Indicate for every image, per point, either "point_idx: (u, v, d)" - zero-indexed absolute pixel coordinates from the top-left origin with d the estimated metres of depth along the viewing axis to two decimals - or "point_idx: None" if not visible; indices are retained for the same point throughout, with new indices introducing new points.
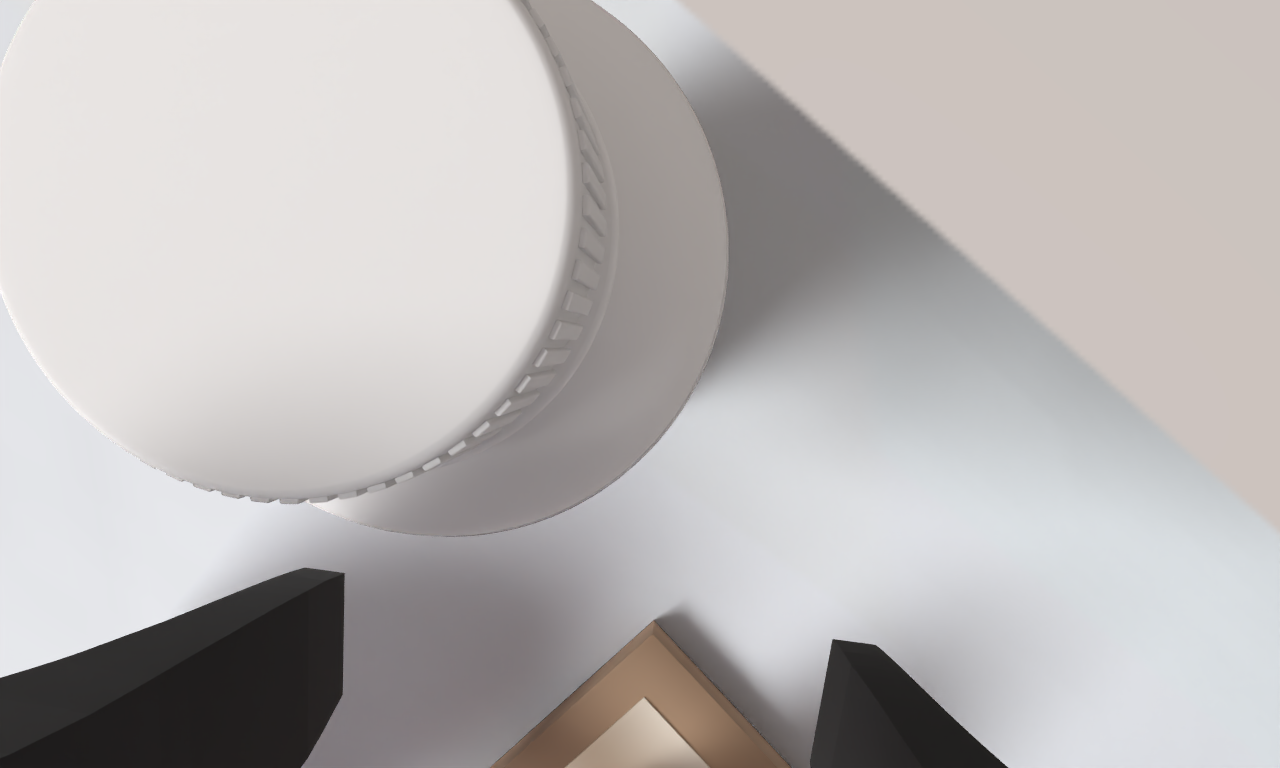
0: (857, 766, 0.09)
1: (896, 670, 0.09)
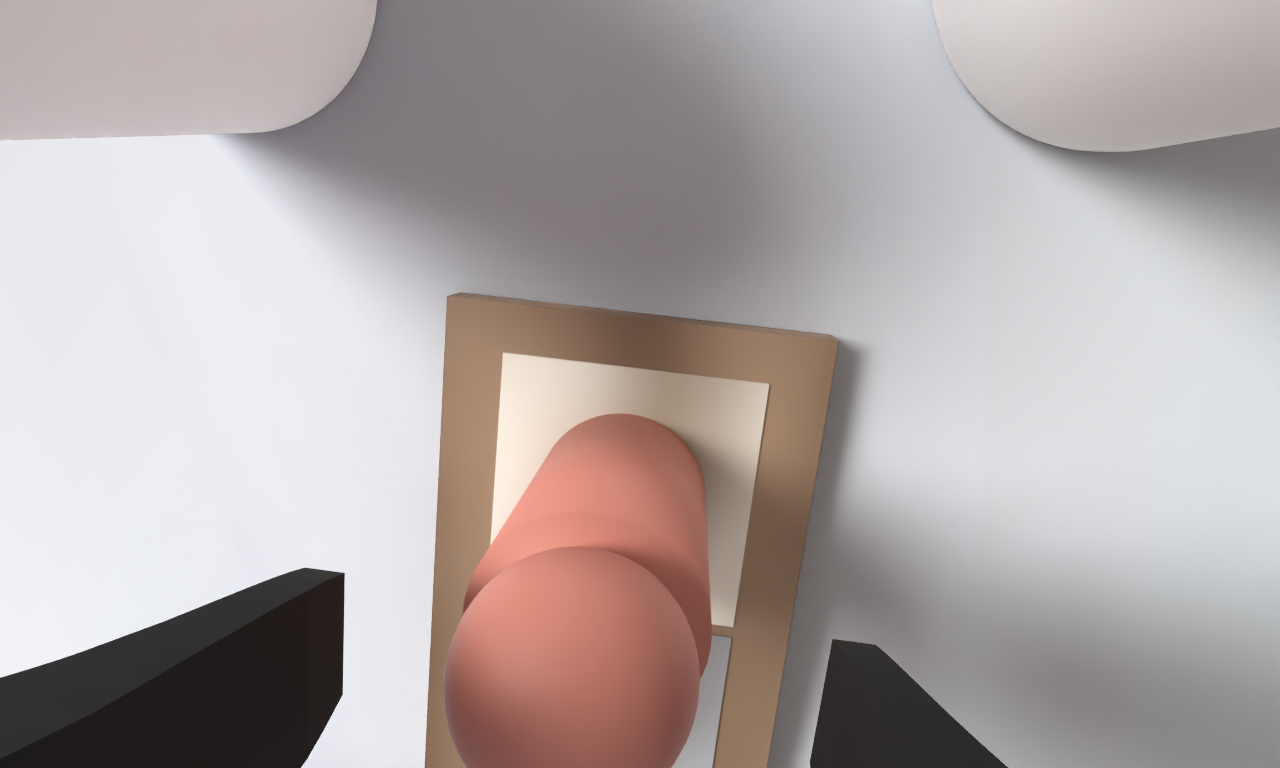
0: (857, 766, 0.09)
1: (897, 670, 0.09)
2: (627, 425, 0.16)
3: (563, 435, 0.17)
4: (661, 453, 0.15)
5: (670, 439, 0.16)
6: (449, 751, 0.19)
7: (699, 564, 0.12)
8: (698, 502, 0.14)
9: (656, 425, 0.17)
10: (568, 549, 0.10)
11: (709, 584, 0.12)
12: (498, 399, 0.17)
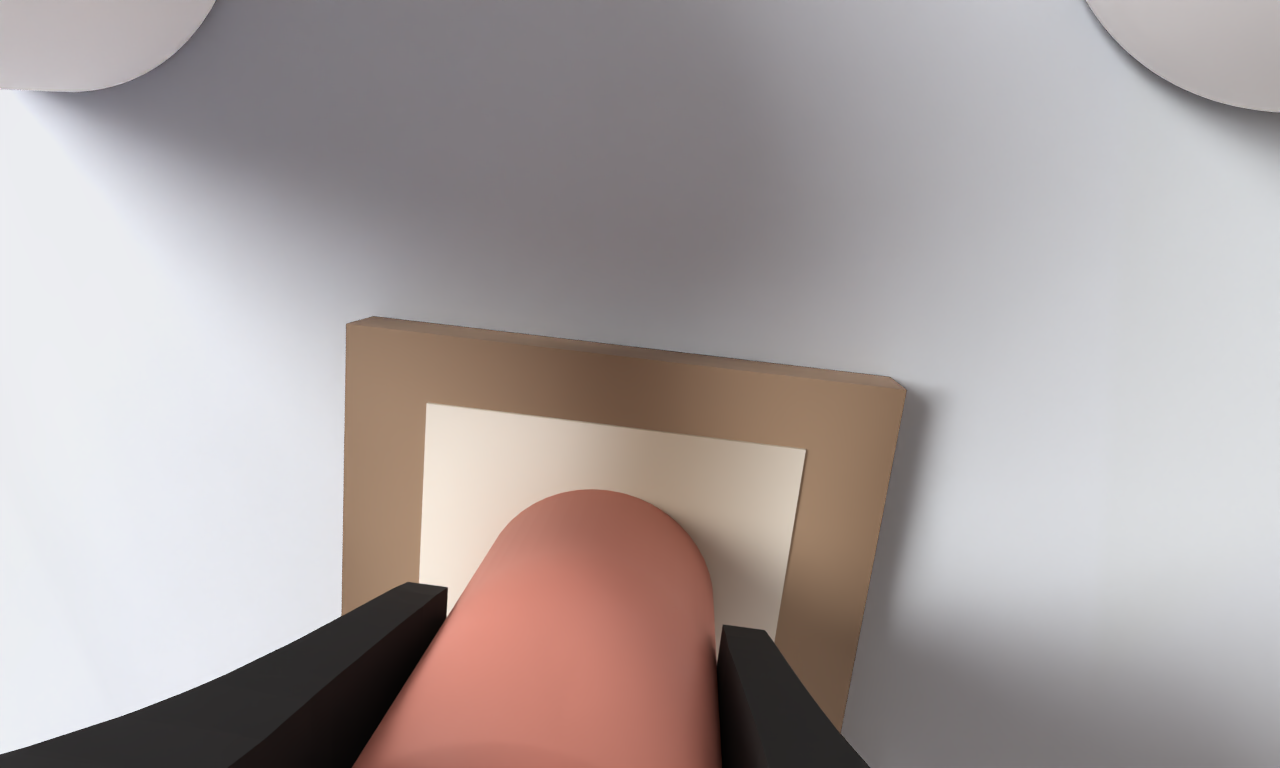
0: (727, 747, 0.09)
1: (774, 652, 0.09)
2: (601, 513, 0.11)
3: (513, 519, 0.12)
4: (649, 564, 0.10)
5: (663, 531, 0.11)
6: None
7: None
8: (705, 644, 0.10)
9: (644, 508, 0.12)
10: None
11: None
12: (422, 468, 0.12)
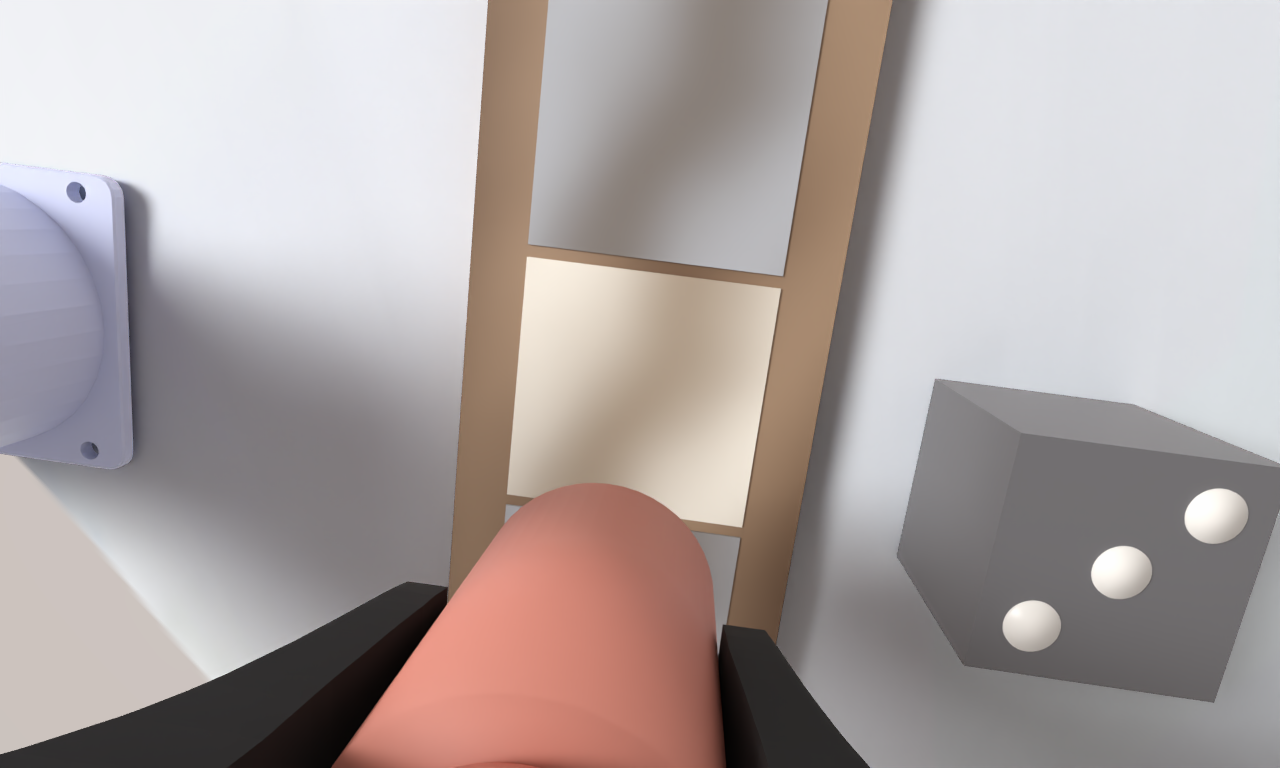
0: (727, 747, 0.09)
1: (773, 653, 0.09)
2: (602, 503, 0.11)
3: (514, 513, 0.12)
4: (650, 548, 0.10)
5: (664, 522, 0.11)
6: (503, 167, 0.17)
7: None
8: (706, 626, 0.10)
9: (644, 500, 0.12)
10: None
11: None
12: None
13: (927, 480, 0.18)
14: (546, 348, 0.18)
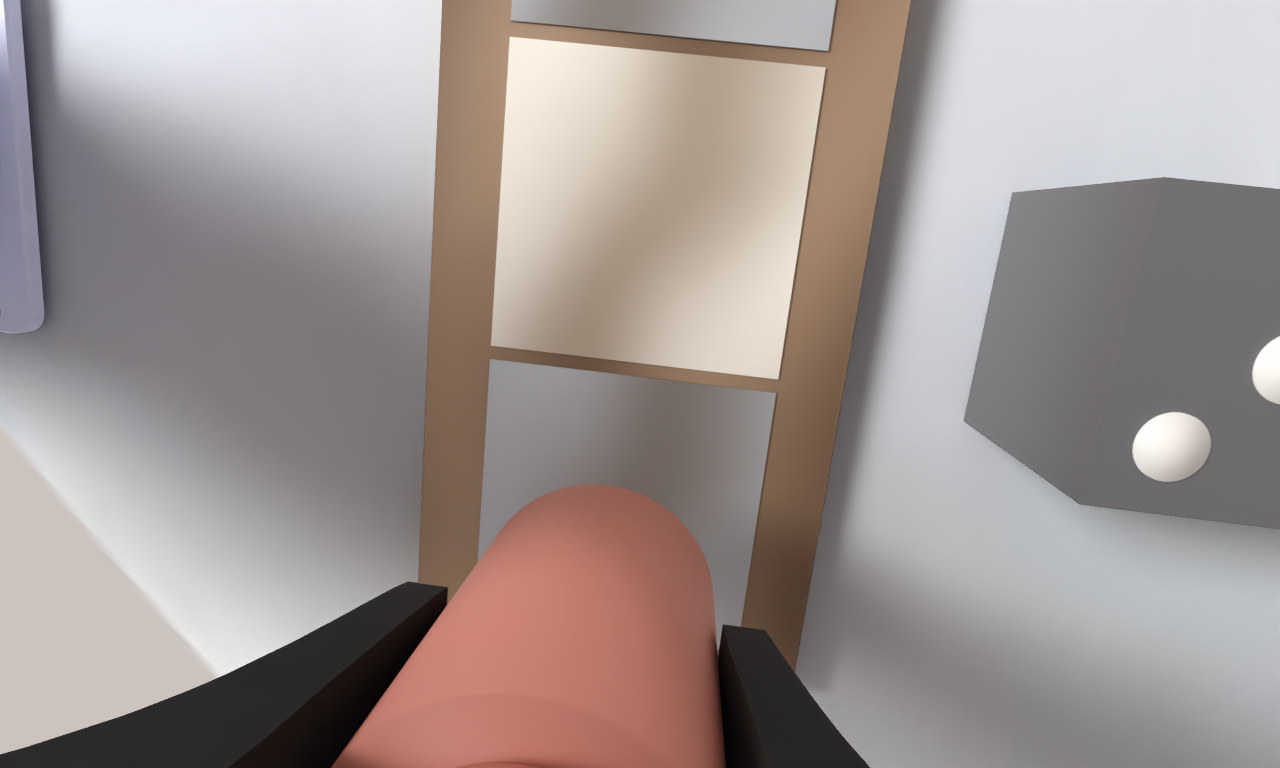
0: (727, 747, 0.09)
1: (774, 653, 0.09)
2: (602, 504, 0.11)
3: (514, 515, 0.12)
4: (650, 550, 0.10)
5: (664, 523, 0.11)
6: None
7: None
8: (706, 628, 0.10)
9: (644, 502, 0.12)
10: None
11: None
12: None
13: (1007, 312, 0.15)
14: (535, 156, 0.15)
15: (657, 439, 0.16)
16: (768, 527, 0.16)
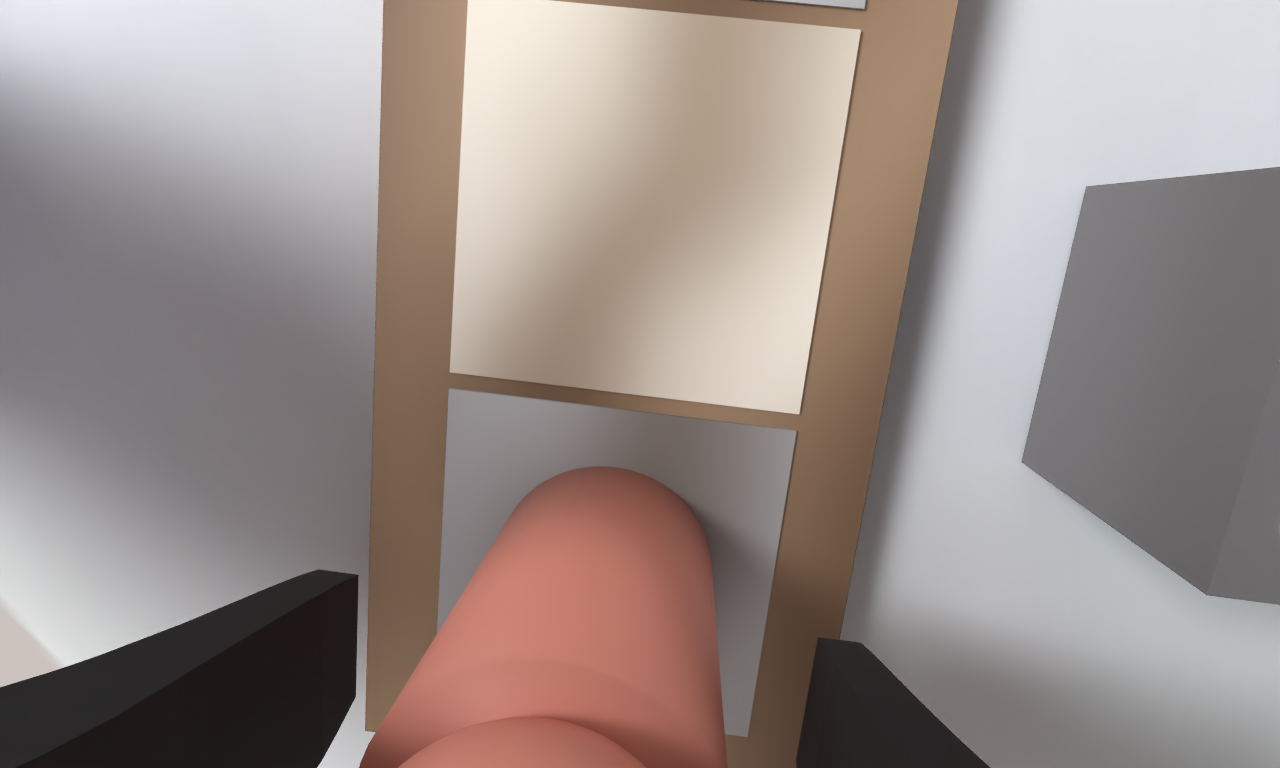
0: (839, 763, 0.09)
1: (880, 667, 0.09)
2: (609, 486, 0.12)
3: (527, 495, 0.13)
4: (654, 527, 0.11)
5: (666, 502, 0.12)
6: None
7: (711, 723, 0.08)
8: (705, 598, 0.11)
9: (648, 482, 0.13)
10: (503, 736, 0.06)
11: None
12: None
13: (1083, 333, 0.12)
14: (500, 141, 0.12)
15: None
16: (786, 590, 0.13)
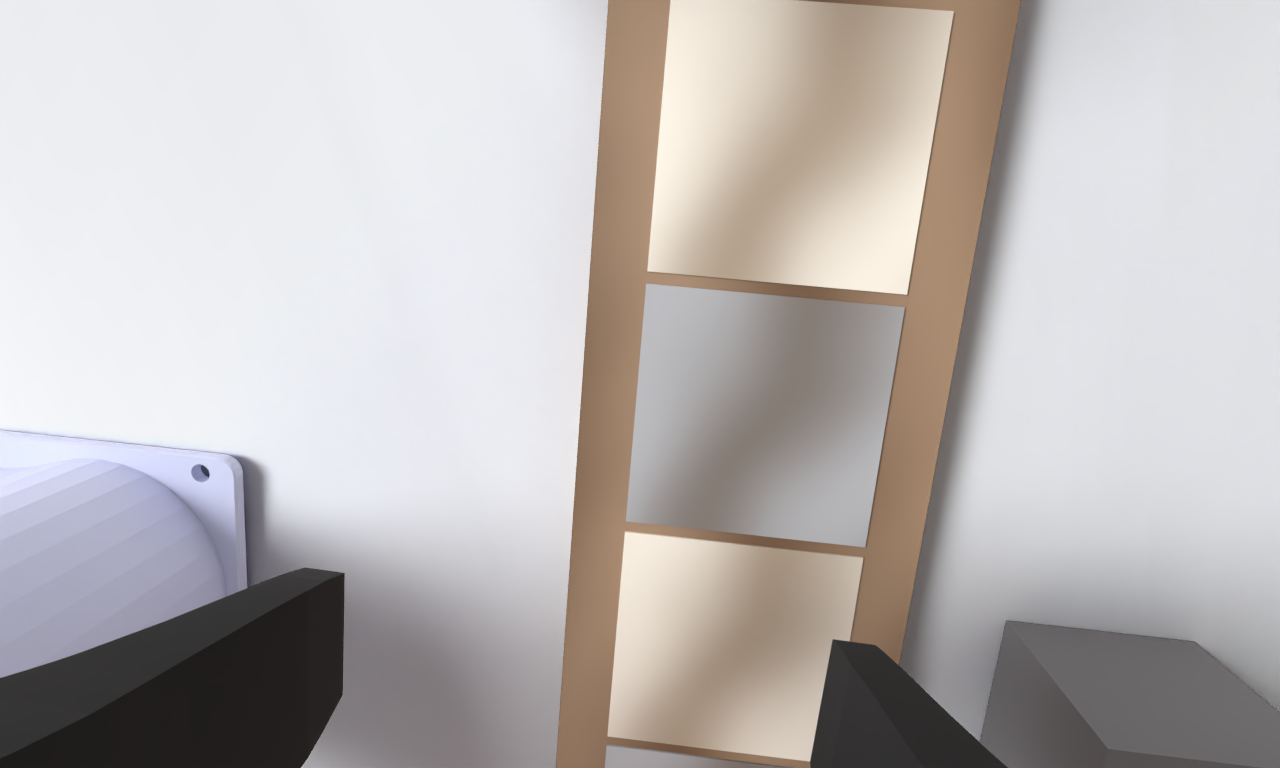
0: (857, 766, 0.09)
1: (897, 669, 0.09)
2: None
3: None
4: None
5: None
6: (602, 455, 0.19)
7: None
8: None
9: None
10: None
11: None
12: (664, 46, 0.16)
13: (1004, 721, 0.19)
14: (643, 611, 0.19)
15: None
16: None
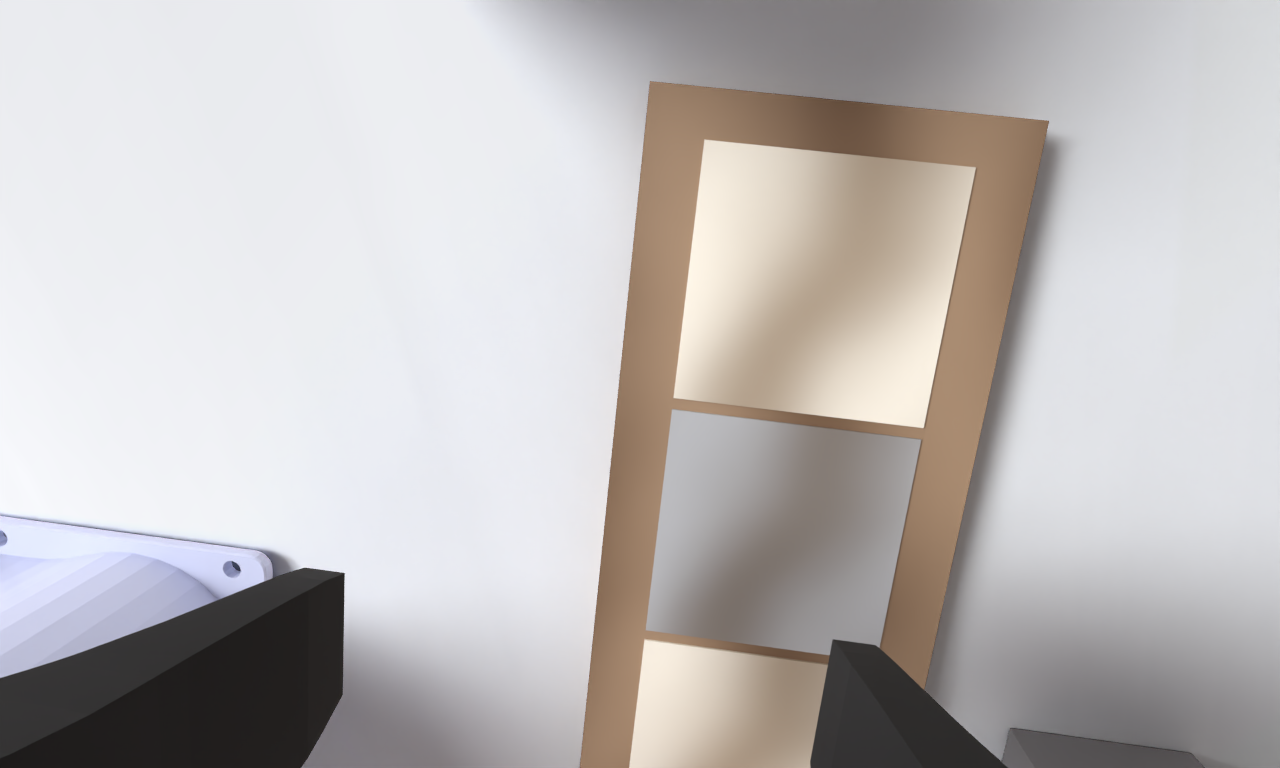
0: (857, 766, 0.09)
1: (896, 669, 0.09)
2: None
3: None
4: None
5: None
6: (624, 567, 0.19)
7: None
8: None
9: None
10: None
11: None
12: (696, 190, 0.17)
13: None
14: (659, 714, 0.20)
15: None
16: None
